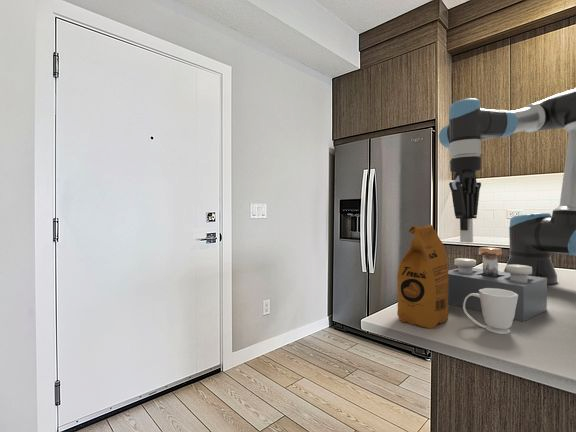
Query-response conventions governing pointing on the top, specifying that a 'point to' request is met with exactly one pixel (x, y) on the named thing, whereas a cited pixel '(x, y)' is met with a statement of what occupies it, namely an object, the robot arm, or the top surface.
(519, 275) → the knob
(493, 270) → the brown lidded jar
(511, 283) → the grey pod holder
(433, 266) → the coffee package
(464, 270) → the knob
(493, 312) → the cup
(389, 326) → the top surface
